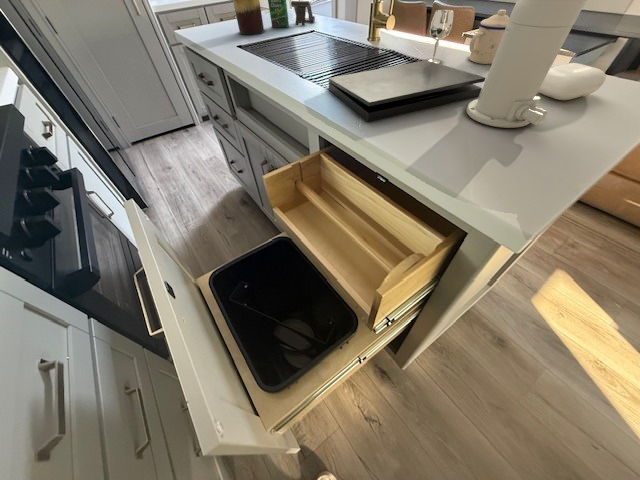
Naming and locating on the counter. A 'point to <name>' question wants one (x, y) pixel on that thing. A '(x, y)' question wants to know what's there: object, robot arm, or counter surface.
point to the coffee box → (278, 13)
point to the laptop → (406, 101)
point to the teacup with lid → (488, 38)
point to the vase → (249, 16)
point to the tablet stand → (302, 11)
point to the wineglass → (440, 27)
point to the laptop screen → (403, 82)
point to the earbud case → (571, 81)
